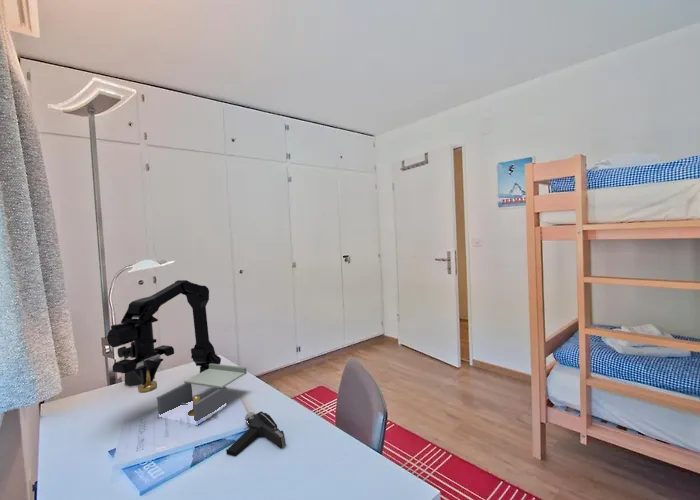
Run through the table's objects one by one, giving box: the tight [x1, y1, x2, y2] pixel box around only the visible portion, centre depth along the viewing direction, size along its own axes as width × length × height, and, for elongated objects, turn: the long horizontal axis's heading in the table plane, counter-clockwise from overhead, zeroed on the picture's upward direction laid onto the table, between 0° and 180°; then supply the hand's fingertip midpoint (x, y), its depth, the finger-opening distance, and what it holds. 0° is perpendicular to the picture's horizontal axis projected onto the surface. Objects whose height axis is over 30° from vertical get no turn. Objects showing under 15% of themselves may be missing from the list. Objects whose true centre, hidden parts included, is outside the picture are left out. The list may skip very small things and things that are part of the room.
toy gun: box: [225, 411, 287, 457], centre depth 101 cm, size 5×21×15 cm
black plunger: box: [124, 359, 156, 389], centre depth 147 cm, size 11×11×25 cm
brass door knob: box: [137, 369, 158, 394], centre depth 119 cm, size 6×6×6 cm
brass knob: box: [188, 394, 201, 416], centre depth 115 cm, size 6×6×6 cm
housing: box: [156, 383, 228, 421], centre depth 118 cm, size 13×17×7 cm
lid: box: [183, 363, 248, 389], centre depth 128 cm, size 13×17×2 cm
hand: (147, 383), depth 119 cm, fingers closed on brass door knob, 2 cm apart
